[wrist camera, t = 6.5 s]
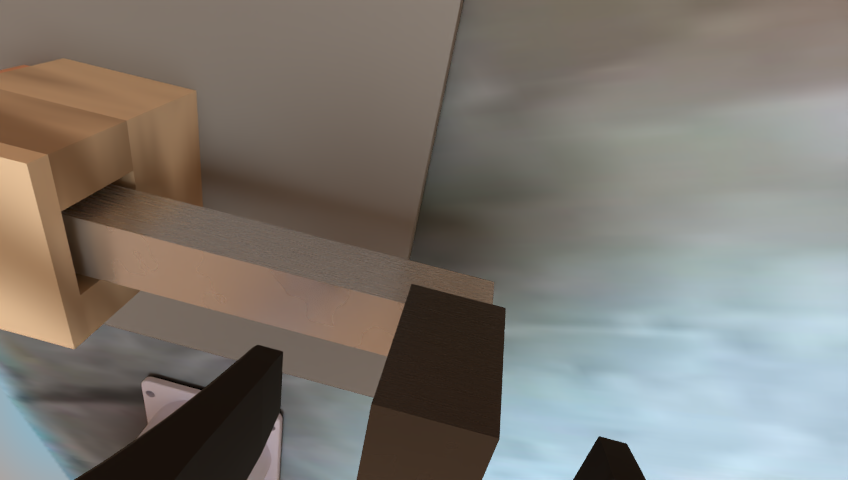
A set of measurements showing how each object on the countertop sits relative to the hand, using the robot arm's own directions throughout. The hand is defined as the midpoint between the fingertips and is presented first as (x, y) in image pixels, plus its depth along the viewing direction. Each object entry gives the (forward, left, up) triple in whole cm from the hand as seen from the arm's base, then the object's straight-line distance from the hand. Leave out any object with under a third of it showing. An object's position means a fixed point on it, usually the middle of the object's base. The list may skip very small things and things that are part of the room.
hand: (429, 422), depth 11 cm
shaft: (0, +6, -5) cm, 8 cm away
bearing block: (0, +13, -9) cm, 16 cm away
